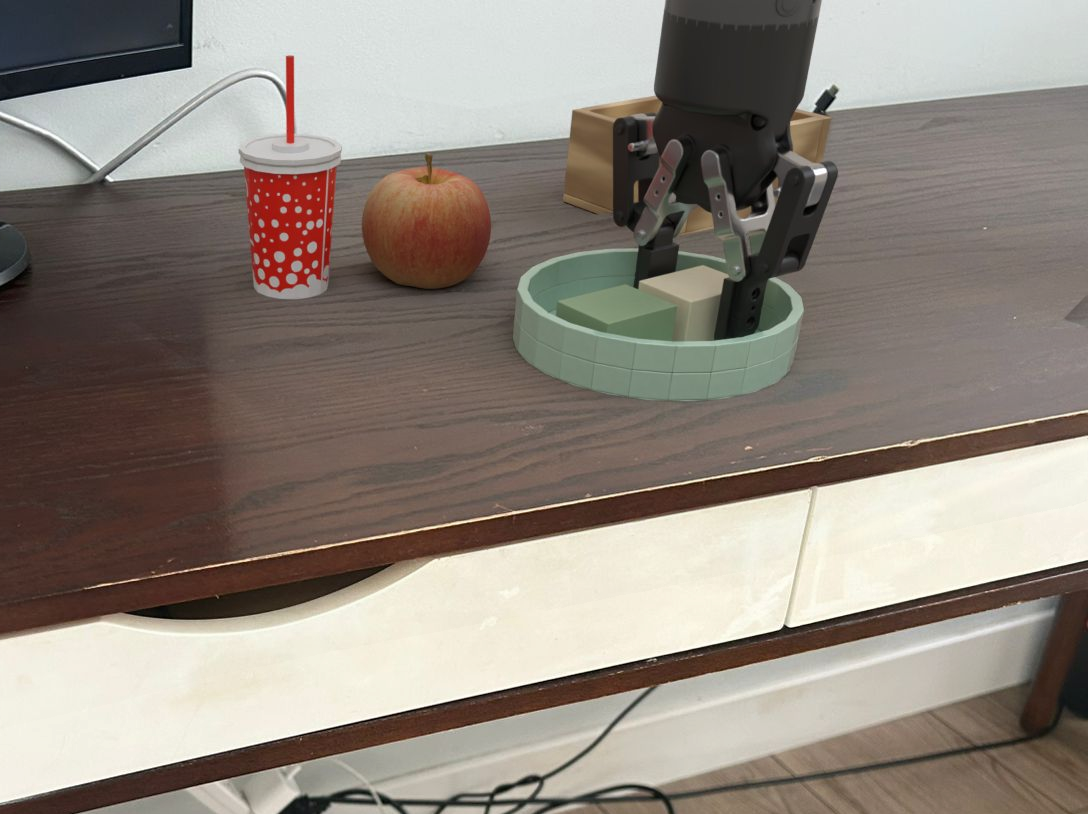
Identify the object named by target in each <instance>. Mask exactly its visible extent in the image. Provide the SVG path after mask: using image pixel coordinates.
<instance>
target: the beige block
mask: <svg viewBox="0 0 1088 814" xmlns="http://www.w3.org/2000/svg"><path fill="white" fill-rule="evenodd" d="M728 277H729V276H728V274H725V273H723V272H720V271H717V270H715V269H712V268H709V267H707V266H704V265H702V266H698V267H694V268H690V269H686V270H681V271H677V272H673V273H669V274H665V275H661V276H657V277H653V278H649V279H645V280H641V281H639V288H638V290H641V291H643V292H646V293H648V294H650V295H653V296H655V297H658V298H660V299H662V300H665V301H667V302H670V303H672V304H675V305H677V310H676V317H675V324H674V330H673V337H672V341H673V342H686V341H715V340H714V333H715V328H716V322H717V316H718V310H719V304H720V298H721V293H722V287H723V281H724V278H728Z"/></svg>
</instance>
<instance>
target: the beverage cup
mask: <svg viewBox="0 0 1088 814" xmlns="http://www.w3.org/2000/svg"><path fill="white" fill-rule="evenodd" d="M285 127H286V128H285V130H286V131H285V132H286V133H279V134H278V133H277V134H266V135H260V136H256V137H251V138H248V139H247V140H245V141H243V142H241V143H240V144H239V146H238V155H240V157H239V163H240V164H241V165H242V166H243V173H244V182H245V183H244V185H245V196H246V210H247V219H248V222H247V223H248V233H249V245H250V257H251V267H252V268H251V269H252V280H253V289H254V290H255V291H256V293H258V294H260V295H263V296H265V297H266V298H267V297H268V298H273V299H279V300H301V299H310V298H312V297H317V296H319V295H321V294H323V293H324V292H326V291H327V290H328V287H329V282H330V281H329V279H330V266H331V252H332V239H333V226H334V225H333V224H334V210H335V196H336V183H337V170H338V169H337V168H338V166H339V165H341V161H342V156H341V155H342V151H343V145H342V144H341V143H340V142H339V141H338V140H336V139H333V138H330V137H327V136H323V135H316V134H308V133H295V55H291V54H290V55H289V54H288V55H285Z"/></svg>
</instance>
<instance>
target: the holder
mask: <svg viewBox="0 0 1088 814" xmlns="http://www.w3.org/2000/svg"><path fill="white" fill-rule="evenodd" d="M661 105H662V102H661V101H660V100H659V99H658V98H657V97H656V95H652V96H651V95H650V96H644V97H640V98H633V99H626V100H621V101H616V102H610V103H603V104H598V105H592V106H586V107H585V106H584V107H581V108H575V109H574V108H573V109H572V111H571V119H570V130H569V138H568V149H567V159H566V170H565V178H564V179H565V180H564V188H563V195H562V196H563V198H562V202H563V203H566V204H568V205H572V206H574V207H577V208H580V209H583V210H585V211H589V212H590V213H593V214H595V215H600V214H604V213H610V214H613V124H614V122H615V120H616V119H618V118H622V117H627V116H630V115H635V114H641V113H643V114H645V113H650V112H653V113H655V114H656V115H657V113H658V111H659V109H660V107H661ZM831 120H832V117H831V116H827V115H823V114H819V113H816V112H812V111H807V110H804V109H799V108H797V109H796V110H795V112H794V114H793V116H792V119H791V122H790V132H791V139H792V143H793V152H794V153H796V154H798V155H800V156H801V157H803V158H805V159H807V160H809V161H811V162H813V163H820V162H824V161H823V159H824V154H825V151H826V146H827V145H826V144H827V140H828V136H829V130H830V126H831ZM660 164H661V159H660V156H659V166H660ZM777 187H778V177H777V178H776V179H775V180H774V181H773V190H774V189H775V188H777ZM777 200H778V198H776V197H775V204H776V203H777ZM634 202H638V181H636V182H635V184H634ZM736 212H737V215H738V216H739V217H740V218H741V219H744V218H747V217H748V216H749V215H750V213H751V206H750V207H748V208H746V209H743V210H739V211H736ZM708 230H714V225H713V219H712V213H710V212H707V211H706V210H704V209H703V208H701V207H700V206H697V207H696V208H695V209H693V210H692V211H691V212H690V214H689V216H688V217H687V219H686V221H685V223H684V225H683V227H682V229H681V231H680V233H679V234H678V236H677V237H676V238H679V237H682V236H687V235H691V234H696V233H700V232H704V231H708Z"/></svg>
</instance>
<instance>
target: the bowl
mask: <svg viewBox="0 0 1088 814" xmlns="http://www.w3.org/2000/svg"><path fill="white" fill-rule="evenodd" d="M638 248H639V247H637V248H634V247H633V248H630V247H629V248H603V249H594V250H586V251H577V252H572V253H568V254H564V255H561V256H555V257H552V258H549V259H547V260H545V261H542V262H540V263H538V264H536V265H533V266H531V268H529V269H528V270H527V271H526V272H525V273H523V274H522V275H521V276H520V278H519V281H518V284H517V288H516V295H515V309H514V319H513V332H512V340H513V343H514V347H515V349H516V350H517V352H518V354H519V355H520V356H521V357H522V358H523V359H524V360H525V362H527V363H528V364H530V365H531V366H532V367H534V368H535V369H536V370H539V371H540V372H542V373H543V374H545V375H547V376H550V377H552V378H554V379H556V380H559V381H561V382H564V383H566V384H569V385H572V386H575V387H578V388H581V389H585V390H588V391H592V392H593V391H594V392H596V393H597V392H598V393H602V394H606V395H611V396H617V397H623V398H630V399H636V400H637V399H639V400H647V401H660V402H661V401H662V402H703V401H712V400H713V401H714V400H721V399H722V400H723V399H729V398H734V397H741V396H744V395H747V394H751V393H755V392H758V391H761V390H763V389H766V388H768V387H770V386H773V385H774V384H776V383H777V382H779V381H780V380H781V379H783V378H785V376H787V374H788V372H789V371H790V369H791V367H792V365H793V364H794V361H795V358H796V357H795V356H796V351H797V346H798V342H799V336H800V334H801V333H800V332H801V328H802V322H803V319H804V318H803V317H804V312H805V308H804V304H803V299H802V296H801V295H800V294H799V293H798V292H797V291H796V290H795V289H794V288H793V287H792V286H791V285H790V284H789V283H787V282H785V281H783V280H781V279H780V278H778V277H774V278H770V279H768V281H767V285H766V290H765V295H764V300H763V306H762V308H761V310H762V311H761V315H760V321H759V326H758V328H757V330H756V331H755V333H754V334H751V335H748V336H745V337H740V338H732V339H724V340H716V341H686V342H673V341H660V340H648V339H637V338H632V337H626V336H621V335H615V334H609V333H604V332H599V331H596V330H593V329H589V328H586V327H582V326H579V325H576V324H572V323H570V322H567V321H565V320H563V319H561V318H559V317H557V316H556V310H557V301H560V300H564V299H568V298H572V297H576V296H580V295H584V294H588V293H592V292H596V291H600V290H604V289H608V288H612V287H617V286H621V285H625V284H626V285H629V286H631V287H633V285H634V278H635V272H636V263H637V256H638ZM702 265H704V266H707V267H709V268H712V269H715V270H717V271H720V272H723V273H725V274H728V273H727V267H726V260H725V258H721V257H717V256H714V255H709V254H701V253H694V252H688V251H687V252H686V251H681V250H679V251H678V258H677V265H676V271H675V272H677V271H681V270H686V269H690V268H694V267H698V266H702Z"/></svg>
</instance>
